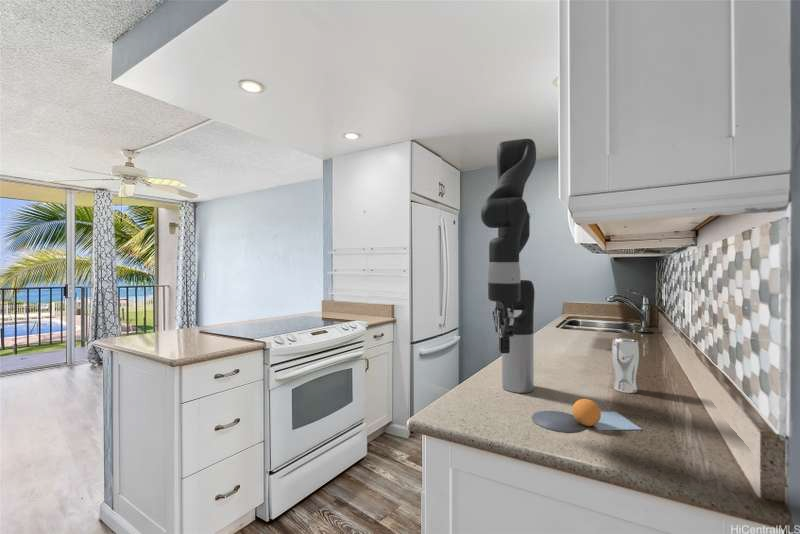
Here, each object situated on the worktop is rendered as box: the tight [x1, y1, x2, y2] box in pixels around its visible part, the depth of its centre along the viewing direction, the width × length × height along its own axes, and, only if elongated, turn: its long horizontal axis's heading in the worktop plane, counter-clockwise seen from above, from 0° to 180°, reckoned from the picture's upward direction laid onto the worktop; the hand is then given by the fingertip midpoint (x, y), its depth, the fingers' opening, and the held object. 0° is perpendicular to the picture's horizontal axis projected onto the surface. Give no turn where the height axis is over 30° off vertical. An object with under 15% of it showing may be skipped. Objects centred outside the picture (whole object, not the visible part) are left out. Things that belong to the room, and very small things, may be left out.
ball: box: [572, 398, 602, 427], centre depth 87 cm, size 6×6×6 cm
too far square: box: [592, 411, 642, 431], centre depth 89 cm, size 10×10×1 cm
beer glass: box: [611, 337, 640, 394], centre depth 111 cm, size 7×7×15 cm
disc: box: [531, 410, 587, 433], centre depth 89 cm, size 12×12×1 cm
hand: (504, 352), depth 89 cm, fingers closed
